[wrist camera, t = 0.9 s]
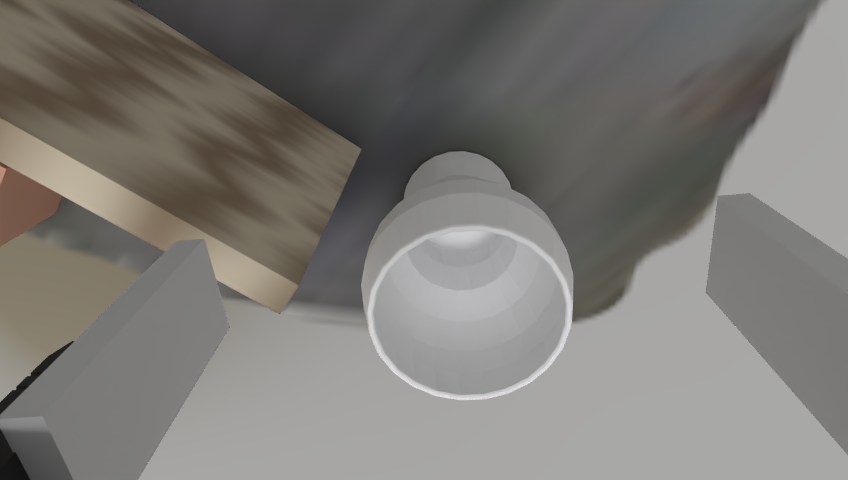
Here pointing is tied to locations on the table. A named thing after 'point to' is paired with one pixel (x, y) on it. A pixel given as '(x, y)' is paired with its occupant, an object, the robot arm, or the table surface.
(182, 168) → the wallboard
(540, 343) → the cup
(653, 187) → the table surface
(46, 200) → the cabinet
